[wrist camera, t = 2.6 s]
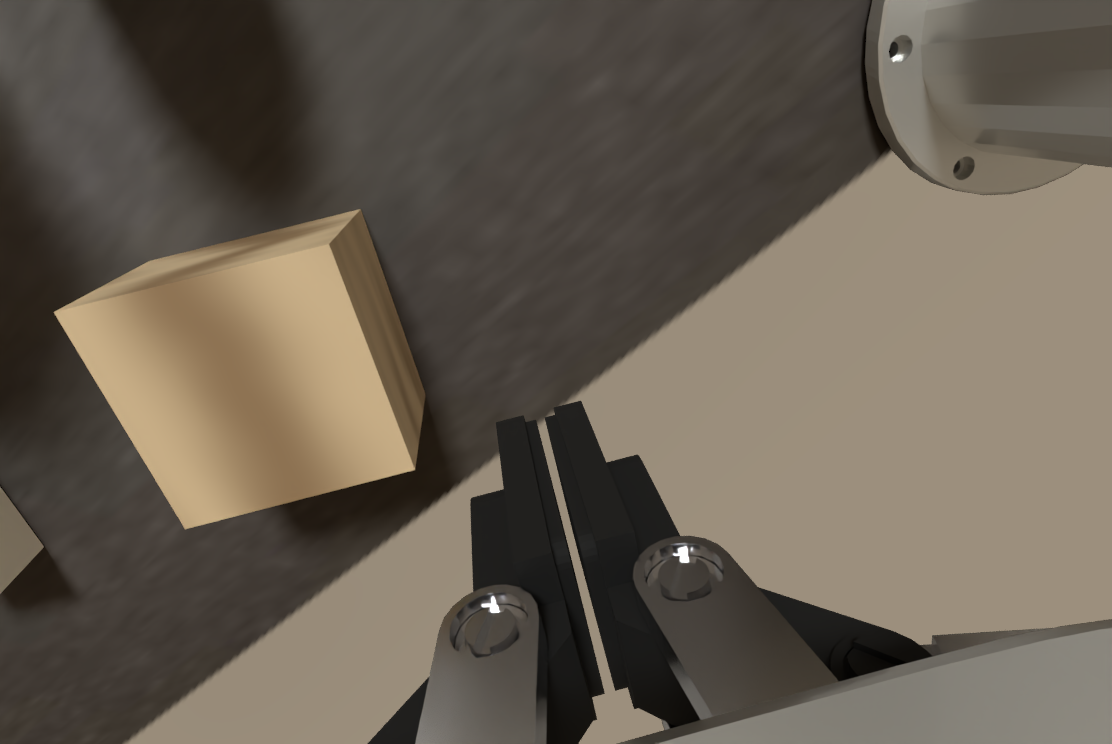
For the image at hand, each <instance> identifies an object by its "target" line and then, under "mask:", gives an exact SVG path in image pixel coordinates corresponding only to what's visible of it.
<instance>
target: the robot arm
mask: <svg viewBox="0 0 1112 744" xmlns="http://www.w3.org/2000/svg"><path fill="white" fill-rule="evenodd" d="M890 47H891V51H890V54H889V49H890ZM865 69H866V77H867V85H868V94H869V99H870V102H871V105H872V108H873V112H874V115H875V118H876V121H877V124H878V127H879V129H880V130H881V132H882V134H883V135H884V137H885V139H886V141H887V142H888V144H889V146H890V148H891V149H892V151H893V152H894V153H895V154H896V155H897V156H898V157H899V158H900V159H901V160H902V161H903V162H904V163H905V164H906V165H907V167H908V168H909V169H910V170H912V171H913V172H915V173H917V174H918V175H920V176H921V177H923V178H925V179H926V180H928V181H930V182H931V183H934V184H937V185H940V186H943V187H946V188H949V189H952V190H956V191H962V192H968V193H974V194H980V195H998V194H1012V193H1017V192H1020V191H1025V190H1029V189H1033V188H1037V187H1040V186H1042V185H1045V184H1047V183H1049V182H1051V181H1054V180H1056V179H1058V178H1061V177H1063V176H1065V175H1067V174H1069V173H1071V172H1072V171H1074V170H1075V169H1077V168H1078V167H1080V166H1082V165H1083V164H1088V165H1097V166H1105V167H1112V0H872V5H871V10H870V14H869V19H868V24H867V32H866V53H865ZM554 412H555V415H553V416H549V417H545V421H546V425H547V429H548V433H549V437H550V441H551V445H552V449H553V453H554V457H555V461H556V465H557V469H558V473H559V477H560V482H561V486H562V490H563V494H564V498H565V502H566V506H567V510H568V514H569V518H570V522H571V526H572V530H573V534H574V538H575V541H576V546H577V549H578V553H579V557H580V561H581V564H582V568H583V571H584V576H585V579H586V583H587V587H588V590H589V594H590V598H591V602H592V606H593V609H594V613H595V617H596V621H597V624H598V628H599V632H600V636H601V639H602V643H603V647H604V650H605V654H606V658H607V662H608V666H609V669H610V673H611V677H612V680H613V684H614V688H615V690H619V689H623V688H627V687H628V690H629V693H630V696H631V700H632V703H633V707H634V709H636V708H640V709H642V710H644V711H646V712H648V713H650V714H652V715H654V716H656V717H658V718H660V719H662V724H663V727H664V731H660V732H657V733H653V734H650V735H646V736H643V737H639V738H635V739H632V740H628V741H625V742H621V743H618V744H1112V620H1103V621H1095V622H1089V623H1081V624H1074V625H1067V626H1060V627H1056V628H1045V629H1029V630H1012V631H996V632H980V633H964V634H948V635H933V636H932V644H931V645H918V644H917V643H916V642H915V641H913V640H912V639H909V638H907V637H905V636H903V635H900V634H898V633H896V632H894V631H891V630H888V629H884V628H882V627H879V626H875V625H872V624H869V623H866V622H863V621H860V620H857V619H854V618H851V617H848V616H845V615H841V614H839V613H836V612H832V611H829V610H826V609H823V608H820V607H817V606H814V605H811V604H808V603H805V602H802V601H799V600H796V599H792V598H789V597H786V596H783V595H780V594H777V593H774V592H771V591H768V590H765V589H761V588H759V587H757V586H756V585H755V583H754V582H753V581H752V580H751V579H750V578H749V576H748V575H747V574H746V573H745V572H744V571H743V569H742V568H741V567H740V566H739V565H738V564H737V563H736V561H735V560H734V559H733V558H732V557H731V556H730V554H729V553H728V552H727V551H725V550H724V549H723V548H722V547H721V546H719V545H718V544H716V543H714V542H712V541H709V540H707V539H705V538H699V537H694V536H680V535H679V533H678V531H677V529H676V527H675V525H674V523H673V521H672V519H671V517H670V515H669V513H668V511H667V509H666V507H665V505H664V503H663V501H662V499H661V497H660V495H659V493H658V491H657V489H656V487H655V485H654V483H653V482H652V480H651V478H650V476H649V474H648V472H647V470H646V468H645V466H644V464H643V462H642V460H641V458H640V457H639V456H638V455H634V456H630V457H626V458H622V459H619V460H615V461H611V462H607V463H606V461H605V458H604V456H603V453H602V451H601V448H600V446H599V444H598V441H597V439H596V436H595V434H594V431H593V429H592V426H591V424H590V422H589V419H588V417H587V414H586V412H585V409H584V407H583V404H582V402H581V401H578V402H574V403H570V404H566V405H562V406H558V407H554ZM496 427H497V436H498V444H499V452H500V461H501V469H502V477H503V486H504V489H503V490H500V491H496V492H492V493H488V494H484V495H480V496H477V497H473V498H471V535H472V565H473V592H472V593H470V594H468V595H466V596H465V597H463V598H462V599H461V600H460V601H459V602H457V603H456V604H455V605H454V606H453V607H452V608H451V609H450V611H449V612H448V613H447V615H446V616H445V617H444V620H443V622H442V624H441V627H440V630H439V634H438V638H437V643H436V648H435V652H434V658H433V662H432V667H431V671H430V676H429V678H428V679H427V680H426V681H425V682H424V683H423V684H422V685H421V686H420V688H419V689H418V690H416V692H415V693H414V694H413V695H412V696H411V697H410V698H409V699H408V700H407V701H406V702H405V704H404V705H403V706H402V707H401V708H400V709H399V710H398V711H397V712H396V714H395V715H394V716H393V717H392V718H391V719H390V720H389V721H388V722H387V723H386V724H385V725H384V726H383V728H382V729H381V730H380V731H379V732H378V733H377V734H376V735H375V736H374V737H373V738H372V739H371V741H370V742H369V743H368V744H578V743H579V741H580V740H581V738H582V737H583V735H584V734H585V732H586V731H587V729H588V728H589V726H590V724H591V723H592V721H593V720H597V718H596V713H595V709H594V704H593V700H592V697H594V696H598V695H602V694H604V689H603V685H602V681H601V677H600V673H599V669H598V665H597V661H596V657H595V653H594V649H593V645H592V641H591V637H590V633H589V629H588V625H587V620H586V617H585V613H584V608H583V604H582V601H581V596H580V592H579V588H578V584H577V580H576V576H575V572H574V568H573V564H572V560H571V556H570V552H569V548H568V544H567V540H566V536H565V532H564V528H563V524H562V520H561V516H560V512H559V508H558V505H557V500H556V497H555V493H554V489H553V485H552V481H551V477H550V473H549V469H548V465H547V461H546V457H545V453H544V449H543V445H542V441H541V438H540V434H539V430H538V426H537V422H536V420H533V421H529V422H525V419H524V416H519V417H515V418H511V419H507V420H503V421H500V422H496Z"/></svg>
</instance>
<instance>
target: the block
mask: <svg viewBox="0 0 1112 744" xmlns="http://www.w3.org/2000/svg"><path fill="white" fill-rule="evenodd" d="M54 314H55V315H56V317H57V319H58V320H59V322H60V324H61V325H62V327H63V329H64V330H65V332H66V333H67V335H68V337H69V338H70V340H71V342H72V343H73V345H74V347H75V348H76V350H77V352H78V353H79V355H80V357H81V358H82V360H83V361H84V363H85V365H86V366H87V368H88V370H89V371H90V373H91V375H92V376H93V378H94V380H95V381H96V383H97V385H98V386H99V388H100V389H101V391H102V393H103V394H104V396H105V398H106V399H107V401H108V403H109V404H110V406H111V408H112V409H113V411H114V413H115V414H116V416H117V418H118V419H119V421H120V422H121V424H122V426H123V427H124V429H125V431H126V432H127V434H128V436H129V437H130V439H131V441H132V442H133V444H134V446H135V447H136V449H137V450H138V452H139V454H140V455H141V457H142V459H143V460H144V462H145V464H146V465H147V467H148V469H149V470H150V472H151V474H152V475H153V477H154V478H155V480H156V482H157V483H158V485H159V487H160V488H161V490H162V492H163V493H164V495H165V497H166V498H167V500H168V502H169V503H170V505H171V506H172V508H173V510H174V511H175V513H176V515H177V516H178V518H179V520H180V521H181V523H182V525H183V526H184V528H185V529H188V528H192V527H195V526H199V525H203V524H207V523H211V522H215V521H219V520H223V519H227V518H230V517H234V516H238V515H242V514H246V513H250V512H254V511H258V510H261V509H265V508H269V507H273V506H277V505H281V504H285V503H289V502H293V501H296V500H300V499H304V498H308V497H312V496H316V495H320V494H324V493H327V492H331V491H335V490H339V489H343V488H347V487H351V486H355V485H359V484H362V483H366V482H370V481H374V480H378V479H382V478H386V477H390V476H393V475H397V474H401V473H405V472H409V471H413V470H415V467H416V460H417V453H418V446H419V438H420V431H421V424H422V417H423V410H424V403H425V395H426V394H425V391H424V388H423V386H422V383H421V380H420V377H419V374H418V371H417V368H416V366H415V363H414V360H413V357H412V354H411V351H410V348H409V346H408V343H407V340H406V337H405V334H404V331H403V328H402V326H401V323H400V320H399V317H398V314H397V311H396V308H395V306H394V303H393V300H392V297H391V294H390V291H389V288H388V286H387V283H386V280H385V277H384V274H383V271H382V269H381V266H380V263H379V260H378V257H377V254H376V251H375V249H374V246H373V243H372V240H371V237H370V234H369V231H368V229H367V226H366V223H365V220H364V217H363V214H362V211H361V209H359V210H355V211H351V212H347V213H343V214H339V215H335V216H331V217H327V218H323V219H318V220H314V221H310V222H306V223H302V224H298V225H294V226H290V227H286V228H282V229H278V230H274V231H270V232H266V233H262V234H258V235H253V236H249V237H245V238H241V239H237V240H233V241H229V242H225V243H221V244H217V245H213V246H209V247H205V248H201V249H197V250H193V251H188V252H184V253H180V254H176V255H172V256H168V257H164V258H160V259H156V260H152V261H149V262H147V263H145V264H143V265H141V266H139V267H137V268H135V269H134V270H132V271H130V272H128V273H126V274H124V275H122V276H120V277H119V278H117V279H115V280H113V281H111V282H109V283H107V284H105V285H104V286H102V287H100V288H98V289H96V290H94V291H92V292H90V293H89V294H87V295H85V296H83V297H81V298H79V299H77V300H75V301H74V302H72V303H70V304H68V305H66V306H64V307H62V308H60V309H59V310H57V311H55V312H54Z"/></svg>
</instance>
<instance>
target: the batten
mask: <svg viewBox="0 0 1112 744" xmlns="http://www.w3.org/2000/svg"><path fill="white" fill-rule="evenodd" d="M43 548H44V546H43V545H42V543H41V542H40V541H39V539H38V538H37V536H36V535H35V534H34V532H33V531H32V530H31V528H30V527H29V525H28V524H27V523H26V521H25V520H24V518H23V517H22V516H21V514H20V513H19V512H18V510H17V509H16V507H15V506H14V505H13V503H12V502H11V501H10V499H9V498H8V496H7V495H6V494H5V492H4V491H3V490H2V488H1V487H0V594H1V593H2V592H3V590H4V589H5V588H6V587H7V586H8V585H9V584H10V583H11V582H12V581H13V580H14V579H15V578H16V577H17V575H18V574H19V573H20V572H21V571H22V570H23V569H24V568H25V567H26V566H27V565H28V564H29V563H30V562H31V560H32V559H33V558H34V557H35V556H36V555H37V554H38V553H39V552H40V551H41V550H42V549H43Z"/></svg>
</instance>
